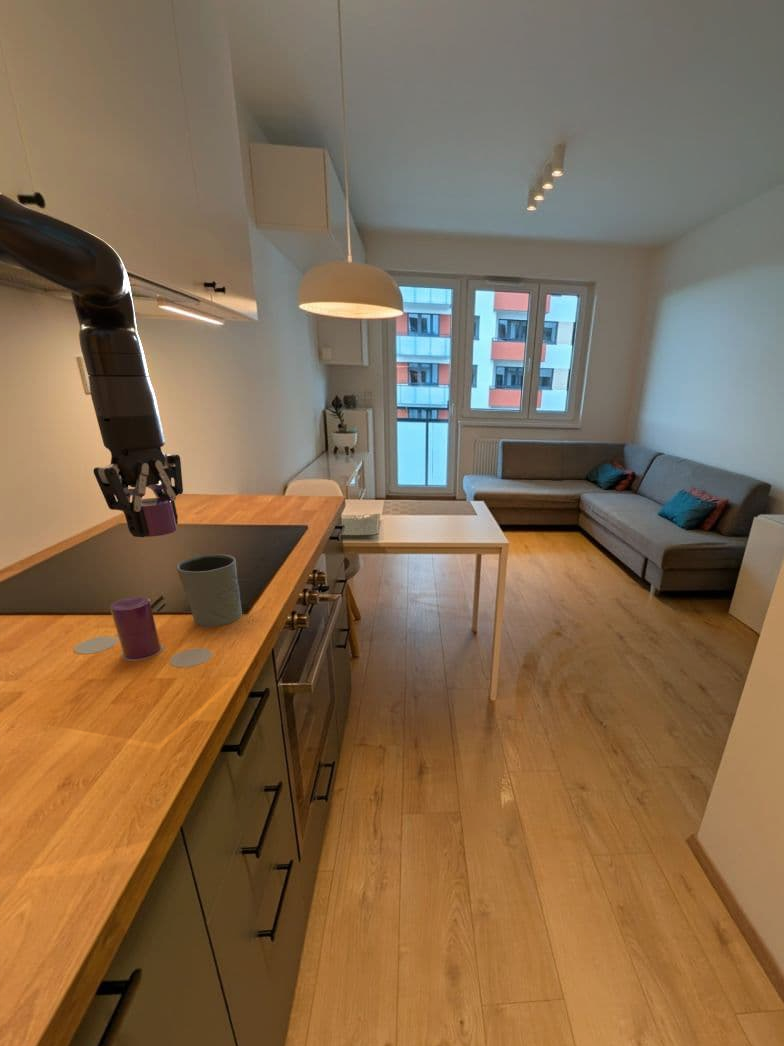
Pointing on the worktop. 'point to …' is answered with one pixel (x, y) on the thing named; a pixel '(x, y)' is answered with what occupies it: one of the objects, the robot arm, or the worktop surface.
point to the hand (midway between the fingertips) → (155, 530)
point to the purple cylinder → (132, 615)
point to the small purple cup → (140, 644)
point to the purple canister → (158, 516)
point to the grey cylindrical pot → (211, 589)
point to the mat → (178, 660)
